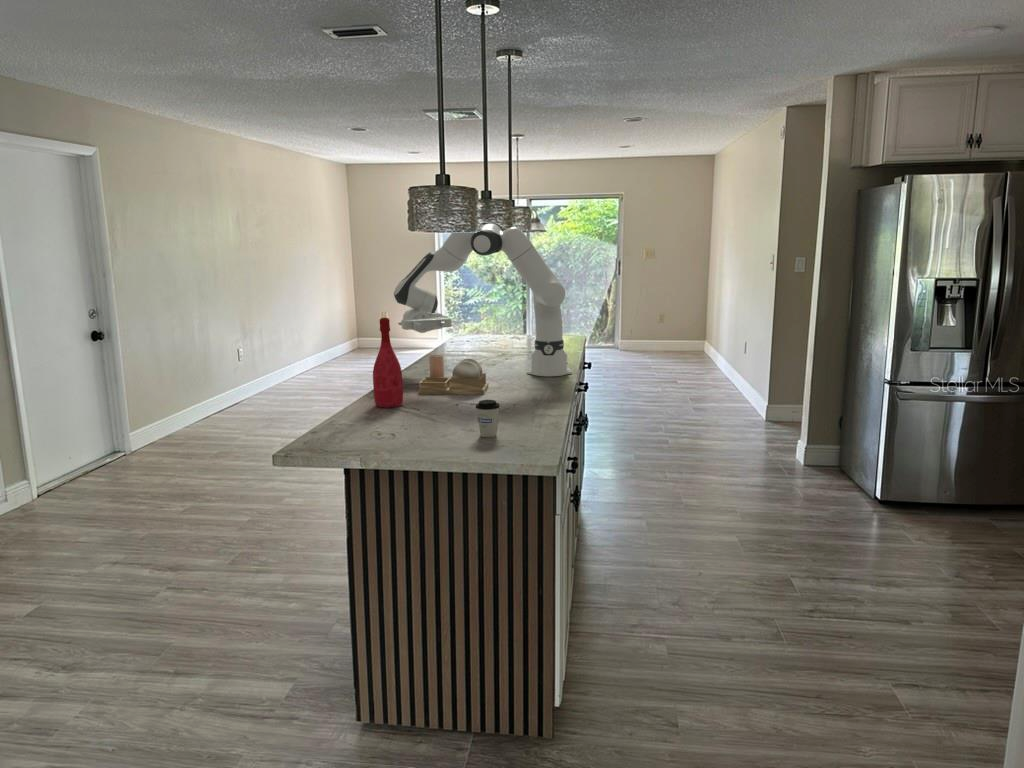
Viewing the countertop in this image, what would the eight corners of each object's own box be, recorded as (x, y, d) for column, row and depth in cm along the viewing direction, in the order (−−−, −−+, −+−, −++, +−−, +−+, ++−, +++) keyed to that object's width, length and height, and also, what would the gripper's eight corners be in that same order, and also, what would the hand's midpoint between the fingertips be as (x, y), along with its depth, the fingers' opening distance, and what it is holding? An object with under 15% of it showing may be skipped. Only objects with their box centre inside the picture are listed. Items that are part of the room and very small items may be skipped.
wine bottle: (369, 407, 231) (363, 319, 225) (382, 401, 240) (378, 315, 234) (395, 409, 228) (391, 319, 222) (408, 402, 237) (404, 316, 231)
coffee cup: (487, 431, 200) (486, 397, 198) (505, 435, 195) (504, 400, 193) (471, 436, 194) (470, 402, 192) (489, 440, 190) (488, 405, 188)
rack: (426, 386, 263) (425, 357, 261) (488, 386, 261) (487, 357, 259) (418, 394, 251) (417, 363, 248) (483, 394, 248) (482, 363, 246)
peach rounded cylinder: (432, 382, 272) (430, 354, 270) (445, 382, 271) (444, 354, 269) (428, 385, 267) (427, 357, 264) (442, 385, 266) (441, 357, 264)
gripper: (396, 315, 278) (406, 318, 266) (444, 312, 286) (455, 316, 274) (397, 330, 279) (406, 334, 267) (444, 328, 288) (456, 331, 275)
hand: (432, 325), depth 270 cm, fingers open, 8 cm apart
